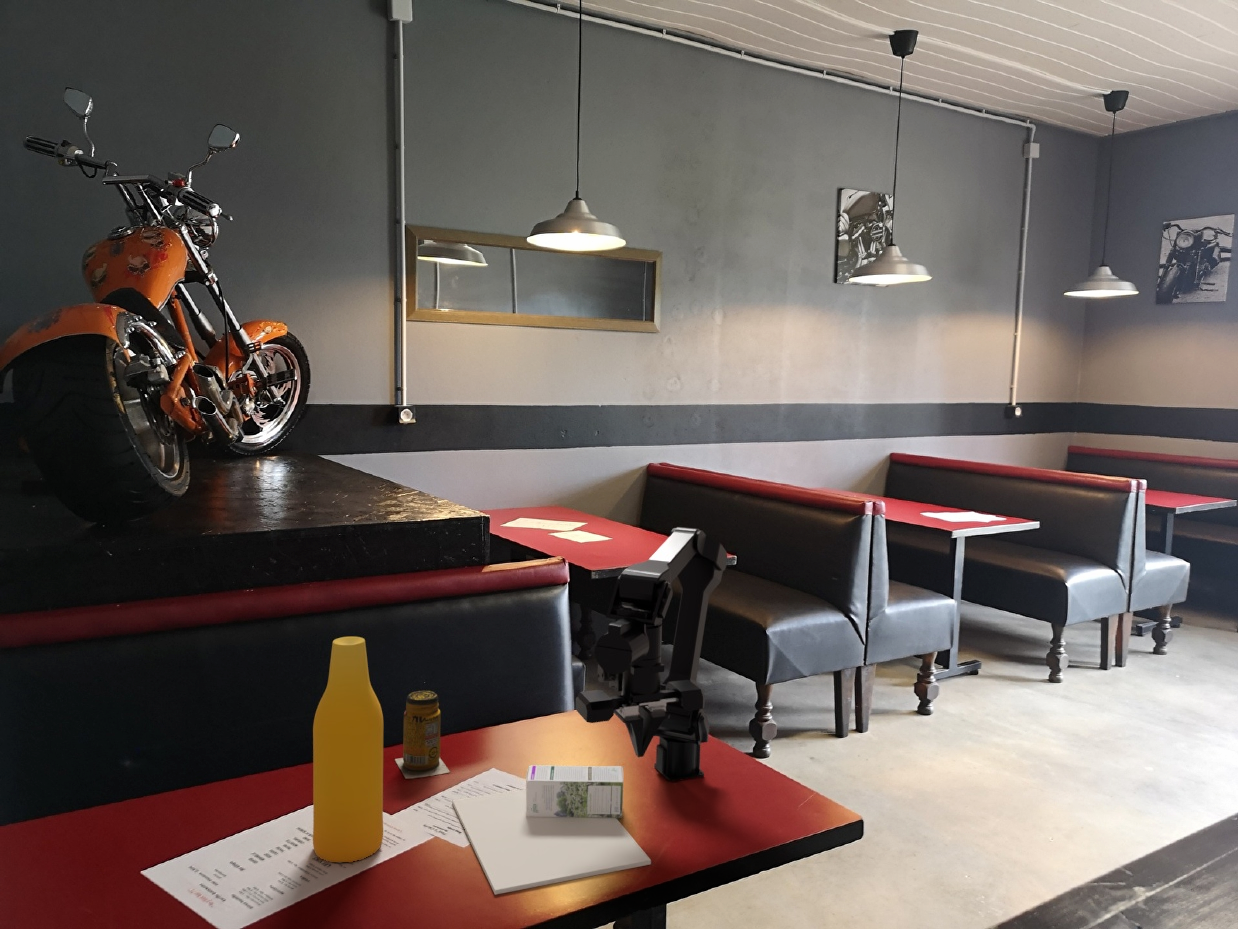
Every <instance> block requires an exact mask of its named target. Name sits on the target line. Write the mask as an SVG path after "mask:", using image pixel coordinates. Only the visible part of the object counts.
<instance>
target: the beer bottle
mask: <svg viewBox="0 0 1238 929" xmlns="http://www.w3.org/2000/svg"><path fill="white" fill-rule="evenodd" d="M331 645H332V646H331V654H330V663H329V672H328V679H327V685H326V688H325V691H324V692H323V694H322V697H321V698H320V701H319V702H318V705H317V708H316V711H315V713H314V714H315V715H314V719H313V725H312V733H313V734H312V738H313V739H312V740H313V741H312V745H313V750H312V752H313V753H312V754H313V756H312V758H313V759H312V761H313V762H312V763H313V764H312V765H313V768H312V769H313V772H312V774H313V776H312V777H313V778H312V780H313V781H312V782H313V789H312V793H313V795H312V796H313V800H312V802H313V803H312V804H313V805H312V806H313V812H312V813H313V814H312V815H313V823H312V824H313V828H312V829H313V831H312V845H313V846H312V847H313V849H314V850H313V851H314V853H315V855H316V856H317V857H318V858H319V857H320V859H321V860H322V859H324V860H323V861H325V860H327V861H326V862H328V861H331V862H330V863H332V862H349V863H354V862H353V861H355V862H358V861H357V860H359V861H361V859H362V860H364V858H365V859H367V858H369V857H371V856H372V855H374V854H375V853H376V852H377V851H378V850H379V849H380V847H381V845H382V843H383V839H384V819H383V818H384V813H383V812H384V808H383V807H384V805H383V804H384V800H383V799H384V792H383V791H384V715H383V711H382V706H381V703H380V701H379V699H378V697H377V694H376V693H375V691H374V689H373V687H372V685H371V684H372V683H371V681H370V675H369V674H370V673H369V667H368V666H369V665H368V664H369V663H368V656H367V647H366V640H365V638H363V637H360V636H342V637H339V638H335V639H334V640H333V641H332V644H331ZM373 853H374V854H373ZM370 855H371V856H370ZM368 856H369V857H368ZM366 857H367V858H366Z"/></svg>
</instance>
